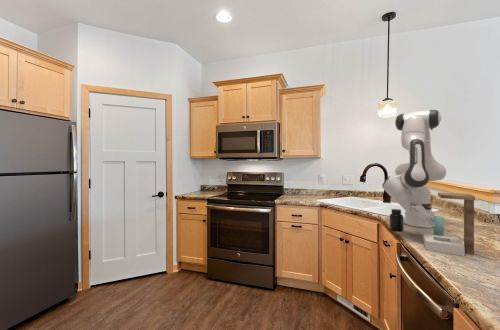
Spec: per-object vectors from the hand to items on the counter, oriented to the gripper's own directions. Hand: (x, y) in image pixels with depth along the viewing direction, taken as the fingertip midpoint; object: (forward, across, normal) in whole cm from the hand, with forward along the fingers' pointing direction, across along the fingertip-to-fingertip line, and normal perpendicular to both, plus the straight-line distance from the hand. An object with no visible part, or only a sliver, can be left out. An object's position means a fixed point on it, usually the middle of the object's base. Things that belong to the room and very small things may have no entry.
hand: (433, 223), depth 116 cm
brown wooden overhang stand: (+11, -12, +1) cm, 16 cm away
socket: (+8, -12, +5) cm, 15 cm away
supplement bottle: (-5, +11, +18) cm, 21 cm away
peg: (+7, 0, +5) cm, 9 cm away
